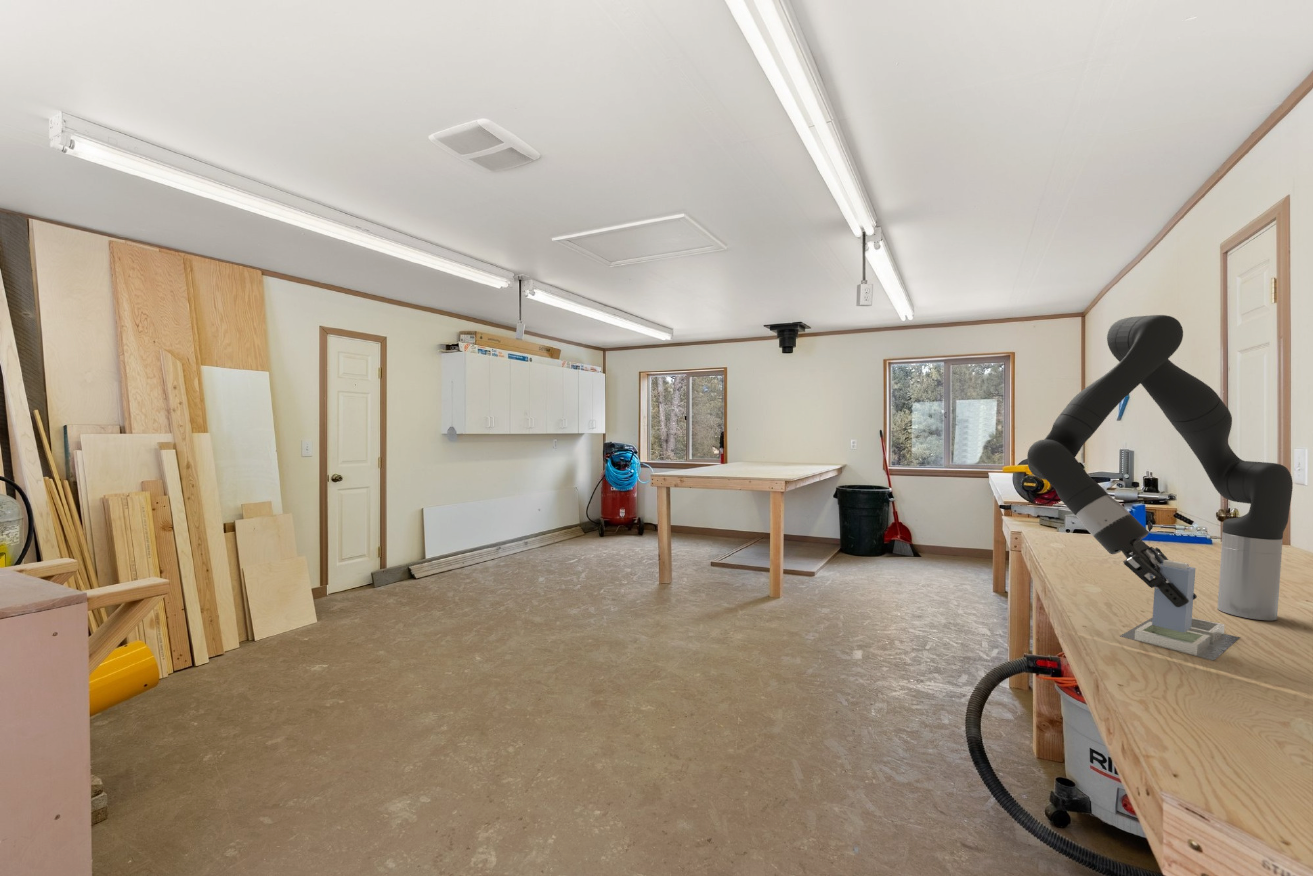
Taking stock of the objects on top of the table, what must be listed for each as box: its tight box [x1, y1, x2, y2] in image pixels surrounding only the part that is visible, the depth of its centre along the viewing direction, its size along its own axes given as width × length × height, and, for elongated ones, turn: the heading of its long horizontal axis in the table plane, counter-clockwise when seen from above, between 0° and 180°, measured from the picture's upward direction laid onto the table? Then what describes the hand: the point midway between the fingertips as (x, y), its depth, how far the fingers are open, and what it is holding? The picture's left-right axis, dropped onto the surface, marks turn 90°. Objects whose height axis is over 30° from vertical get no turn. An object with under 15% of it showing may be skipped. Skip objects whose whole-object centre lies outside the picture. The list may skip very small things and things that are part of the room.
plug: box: [1151, 559, 1196, 633], centre depth 107 cm, size 4×4×12 cm
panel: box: [1119, 616, 1241, 662], centre depth 111 cm, size 20×13×2 cm, turn 126°
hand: (1187, 602), depth 106 cm, fingers closed on plug, 4 cm apart
